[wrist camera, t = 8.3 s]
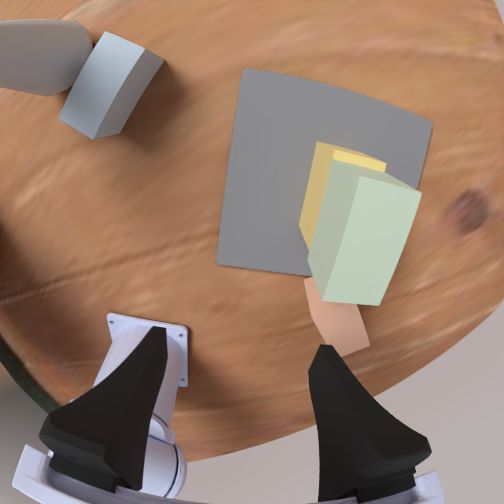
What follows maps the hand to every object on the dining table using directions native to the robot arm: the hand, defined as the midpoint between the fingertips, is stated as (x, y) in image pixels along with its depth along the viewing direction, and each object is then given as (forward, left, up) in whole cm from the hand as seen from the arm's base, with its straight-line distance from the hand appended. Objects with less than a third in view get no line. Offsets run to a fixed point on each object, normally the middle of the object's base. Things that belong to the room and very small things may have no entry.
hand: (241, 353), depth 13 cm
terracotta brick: (-3, -8, -10) cm, 13 cm away
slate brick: (+11, +10, -10) cm, 18 cm away
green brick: (+6, -5, -5) cm, 9 cm away
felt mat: (+6, -5, -10) cm, 13 cm away
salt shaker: (+14, +15, -10) cm, 23 cm away
